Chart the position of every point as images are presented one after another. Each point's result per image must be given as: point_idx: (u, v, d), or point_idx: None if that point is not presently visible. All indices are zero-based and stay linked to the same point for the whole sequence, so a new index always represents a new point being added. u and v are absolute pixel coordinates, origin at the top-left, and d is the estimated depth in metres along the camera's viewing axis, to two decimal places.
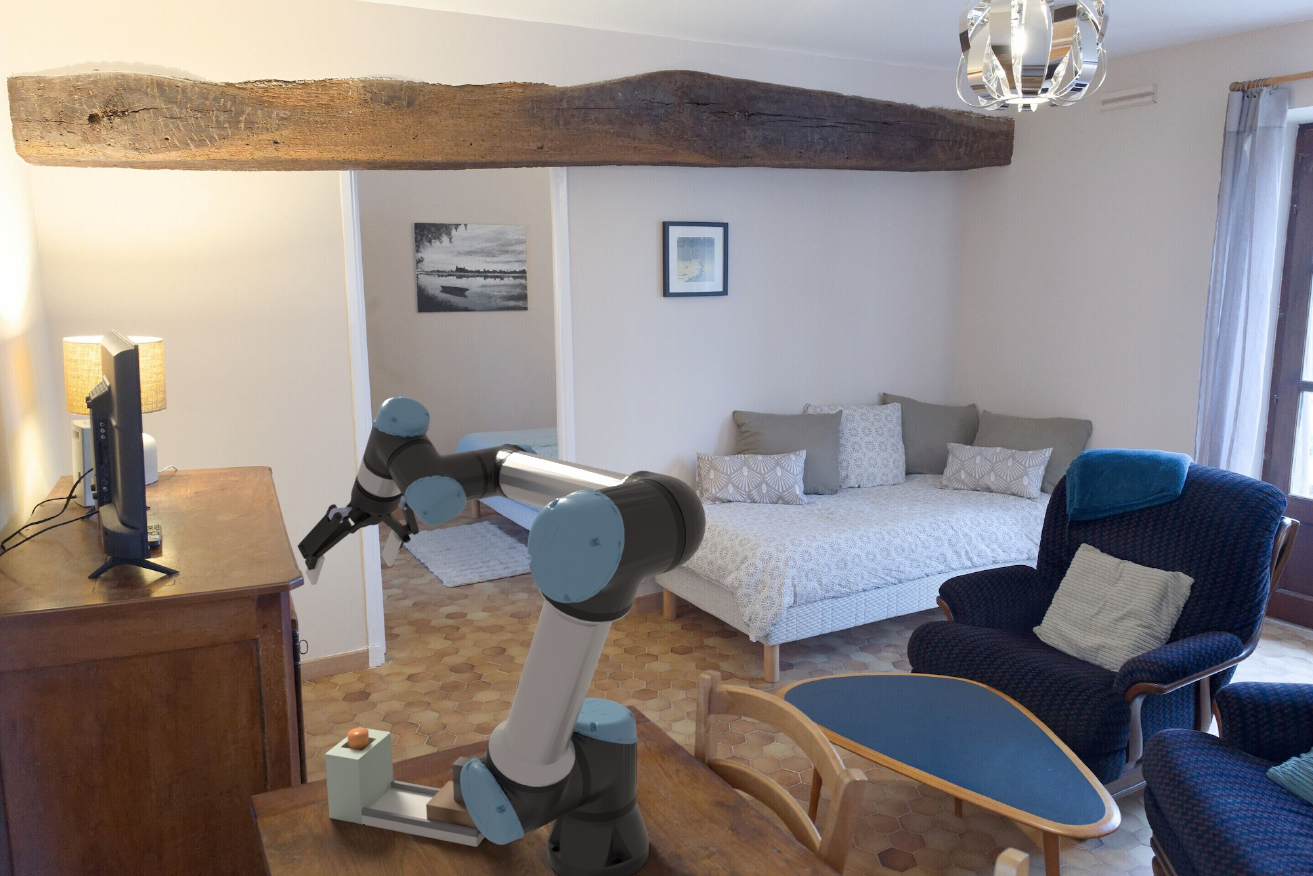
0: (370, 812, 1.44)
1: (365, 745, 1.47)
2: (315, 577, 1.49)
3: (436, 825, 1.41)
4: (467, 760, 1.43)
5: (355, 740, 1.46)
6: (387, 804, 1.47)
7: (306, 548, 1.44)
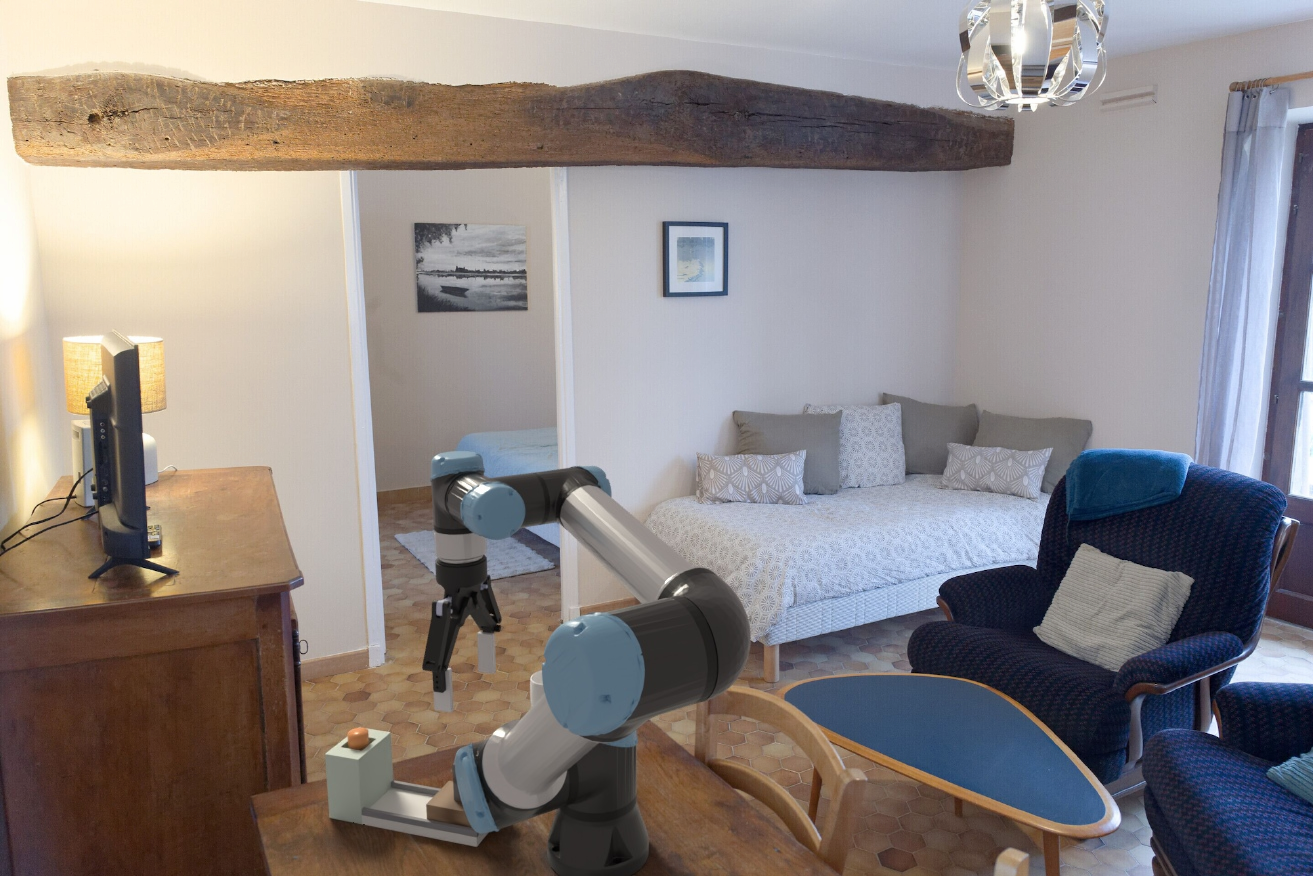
0: (370, 812, 1.44)
1: (365, 745, 1.47)
2: (451, 699, 1.33)
3: (436, 825, 1.41)
4: None
5: (355, 740, 1.46)
6: (387, 804, 1.47)
7: (434, 659, 1.29)
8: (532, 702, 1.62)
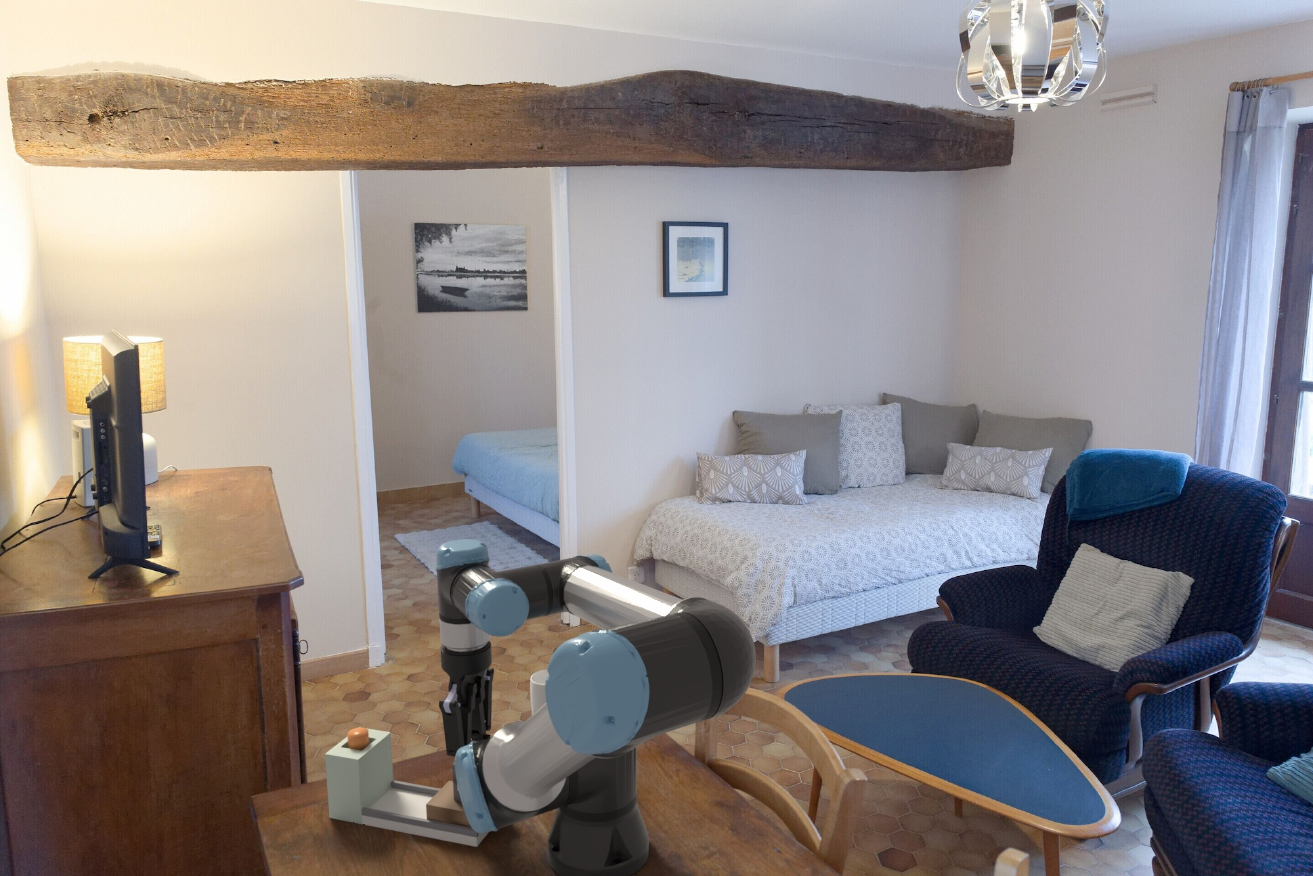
0: (370, 812, 1.44)
1: (365, 745, 1.47)
2: None
3: (436, 825, 1.41)
4: None
5: (355, 740, 1.46)
6: (387, 804, 1.47)
7: (456, 749, 1.36)
8: (532, 702, 1.62)
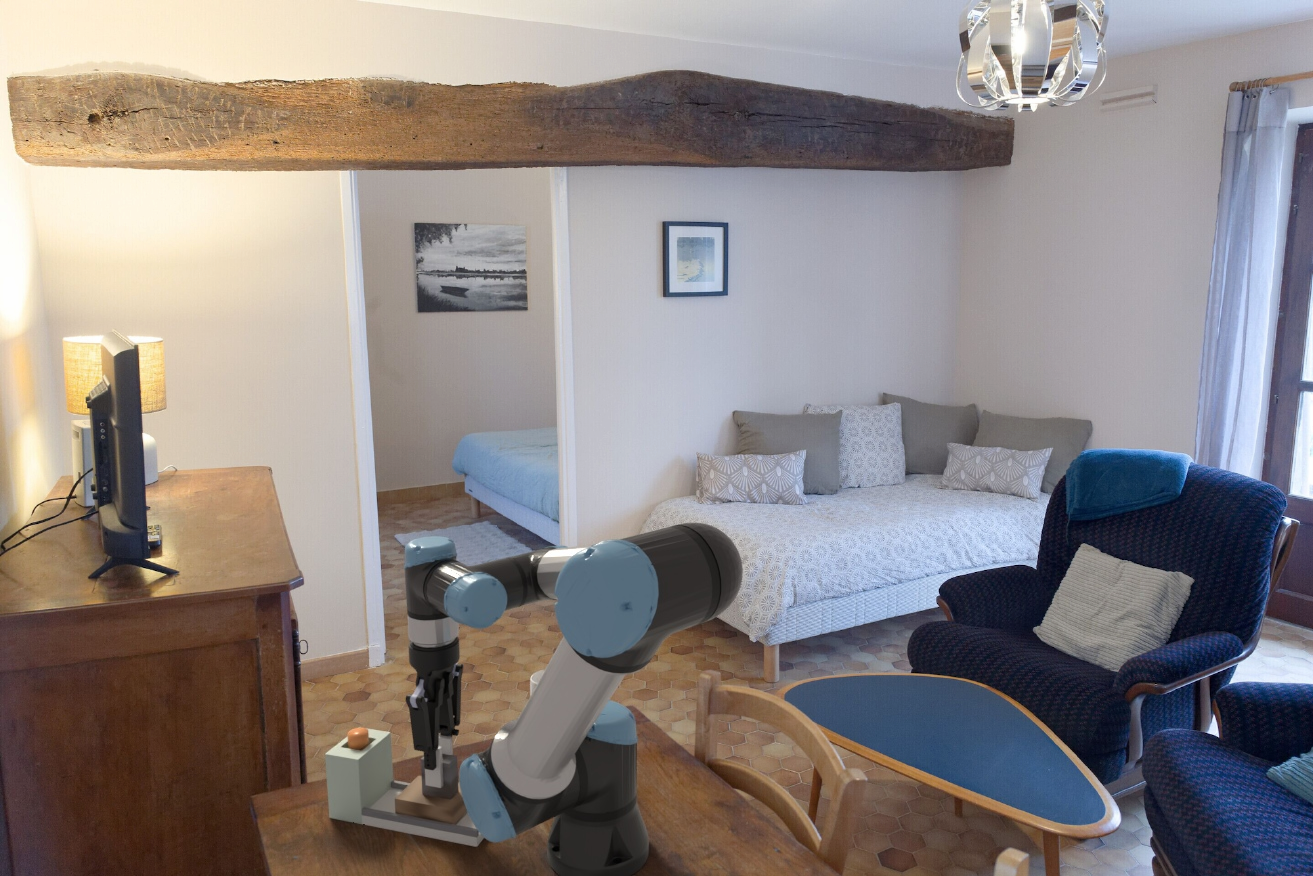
0: (370, 812, 1.44)
1: (365, 745, 1.47)
2: (441, 776, 1.42)
3: (436, 825, 1.41)
4: None
5: (355, 740, 1.46)
6: (387, 804, 1.47)
7: (423, 744, 1.38)
8: None
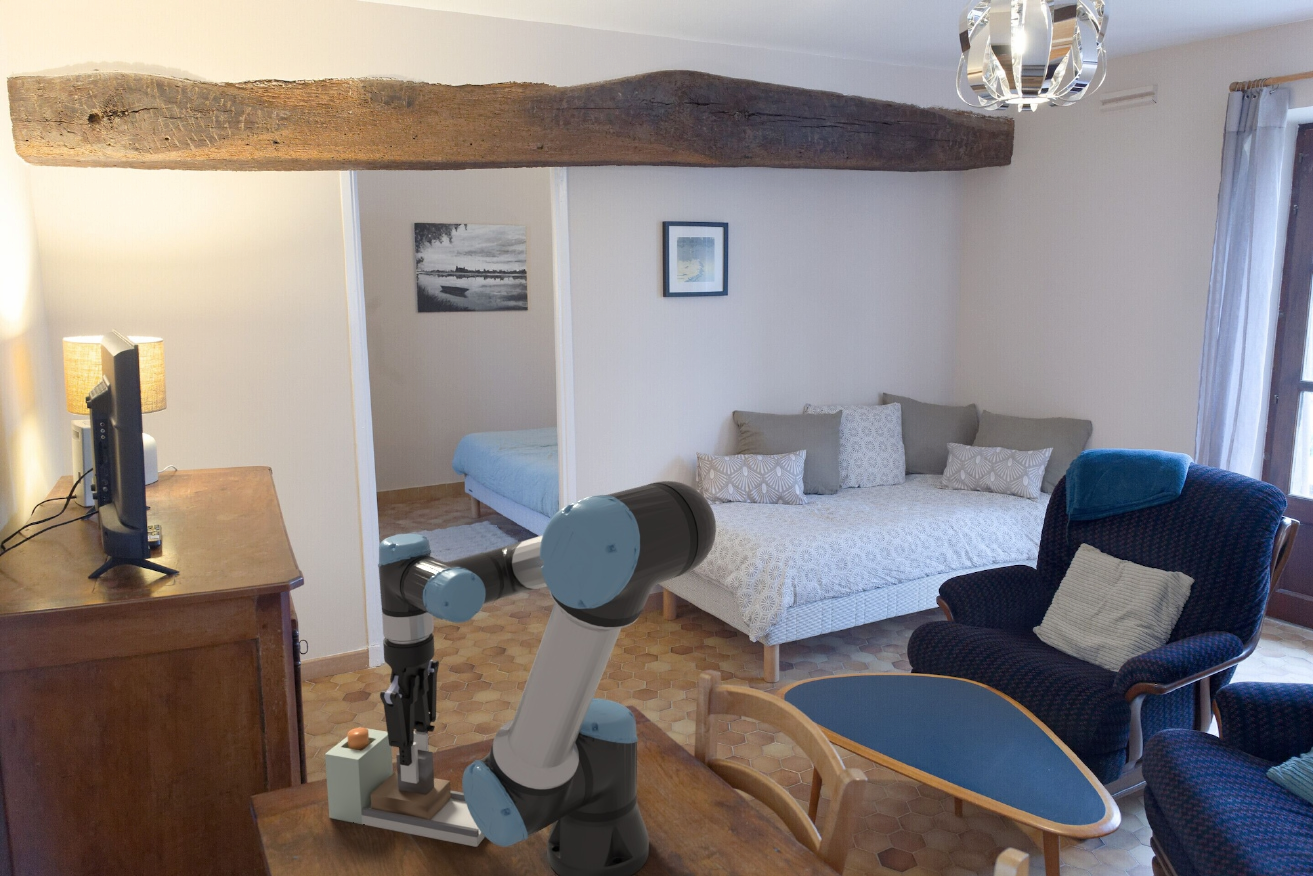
0: (370, 812, 1.44)
1: (365, 745, 1.47)
2: (416, 771, 1.43)
3: (436, 825, 1.41)
4: None
5: (355, 740, 1.46)
6: None
7: (398, 740, 1.39)
8: None
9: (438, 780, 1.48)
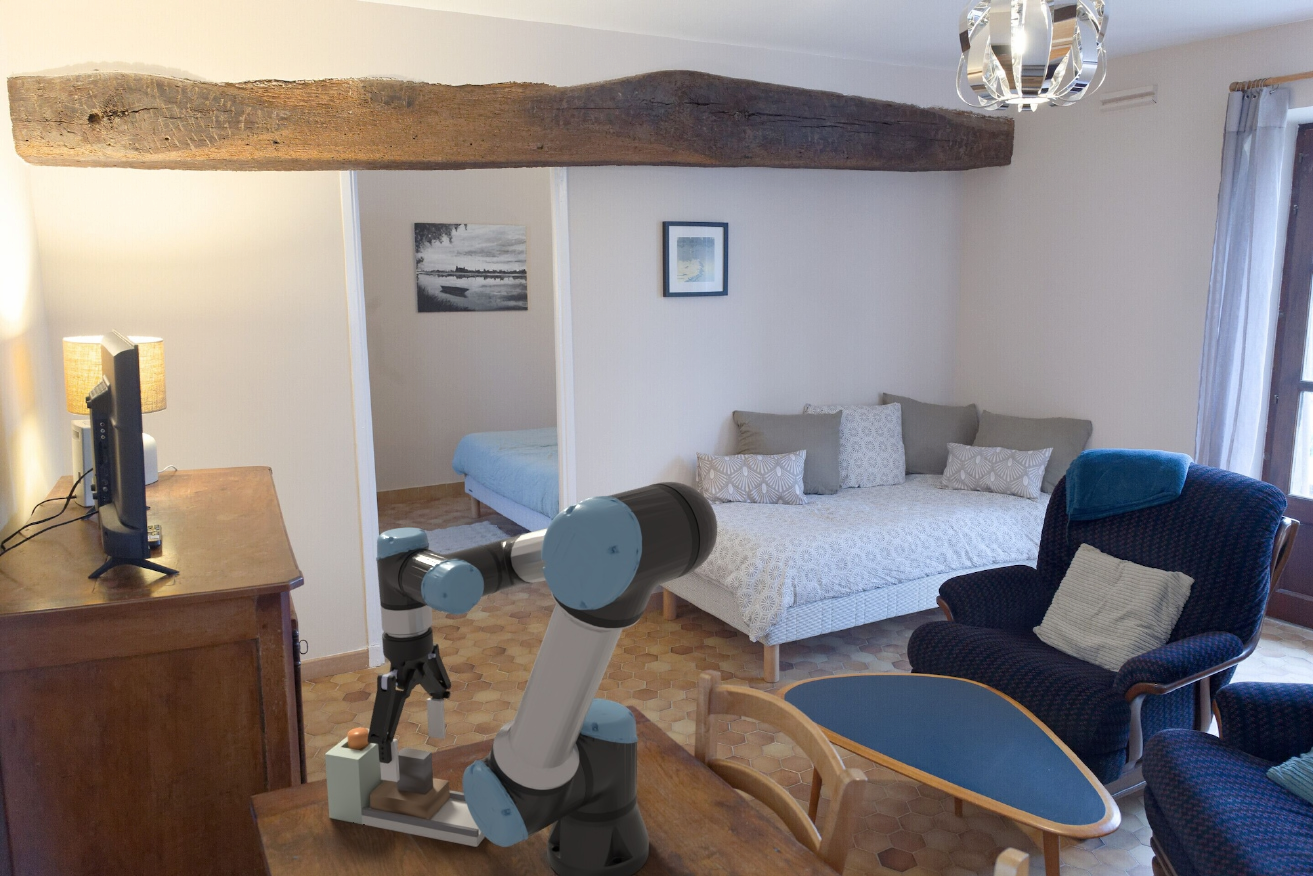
0: (370, 812, 1.44)
1: (365, 745, 1.47)
2: (396, 769, 1.38)
3: (436, 825, 1.41)
4: (410, 750, 1.46)
5: (355, 740, 1.46)
6: None
7: (379, 733, 1.34)
8: None
9: (437, 780, 1.48)
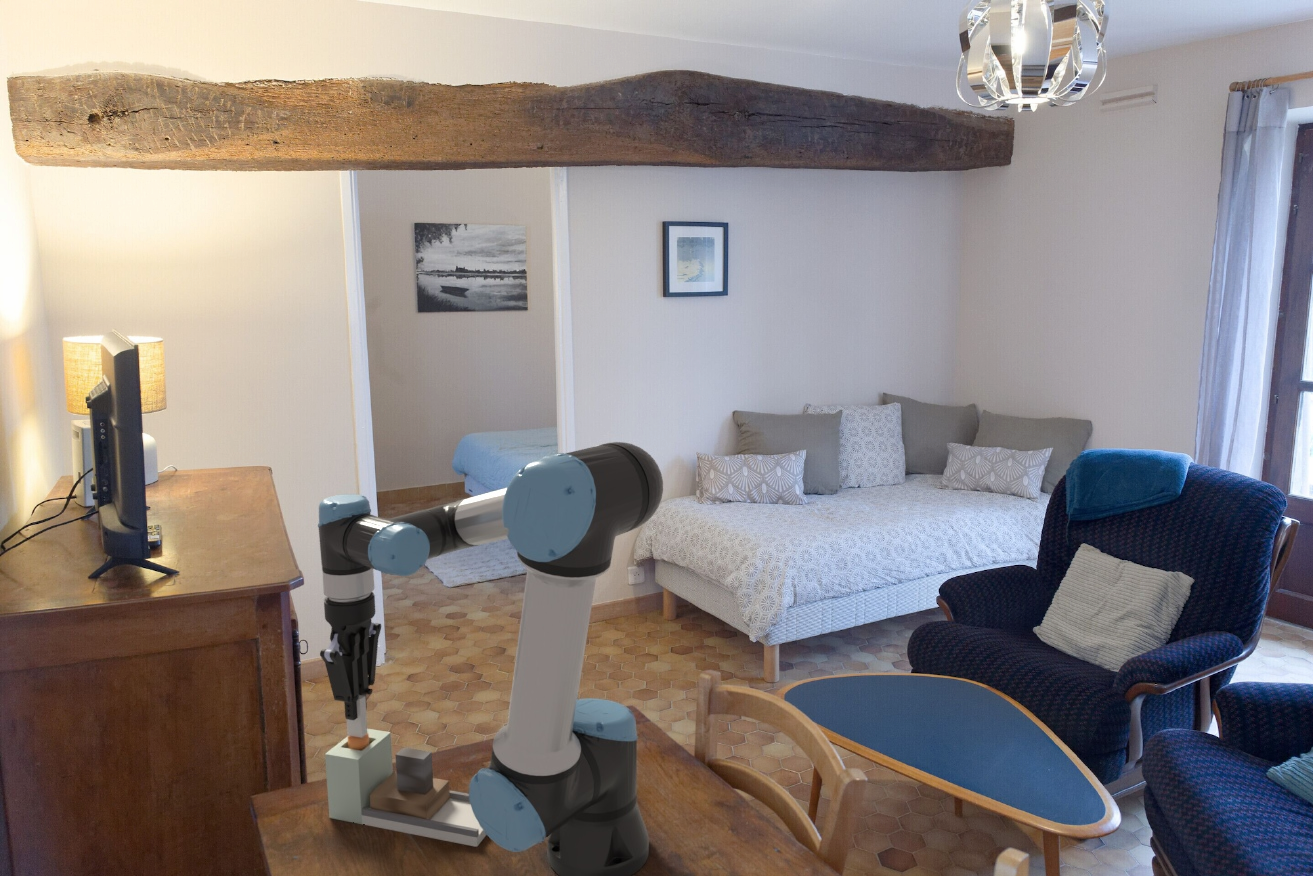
0: (370, 812, 1.44)
1: None
2: (362, 726, 1.46)
3: (436, 825, 1.41)
4: (410, 750, 1.46)
5: (355, 744, 1.46)
6: None
7: (342, 695, 1.42)
8: None
9: (437, 780, 1.48)
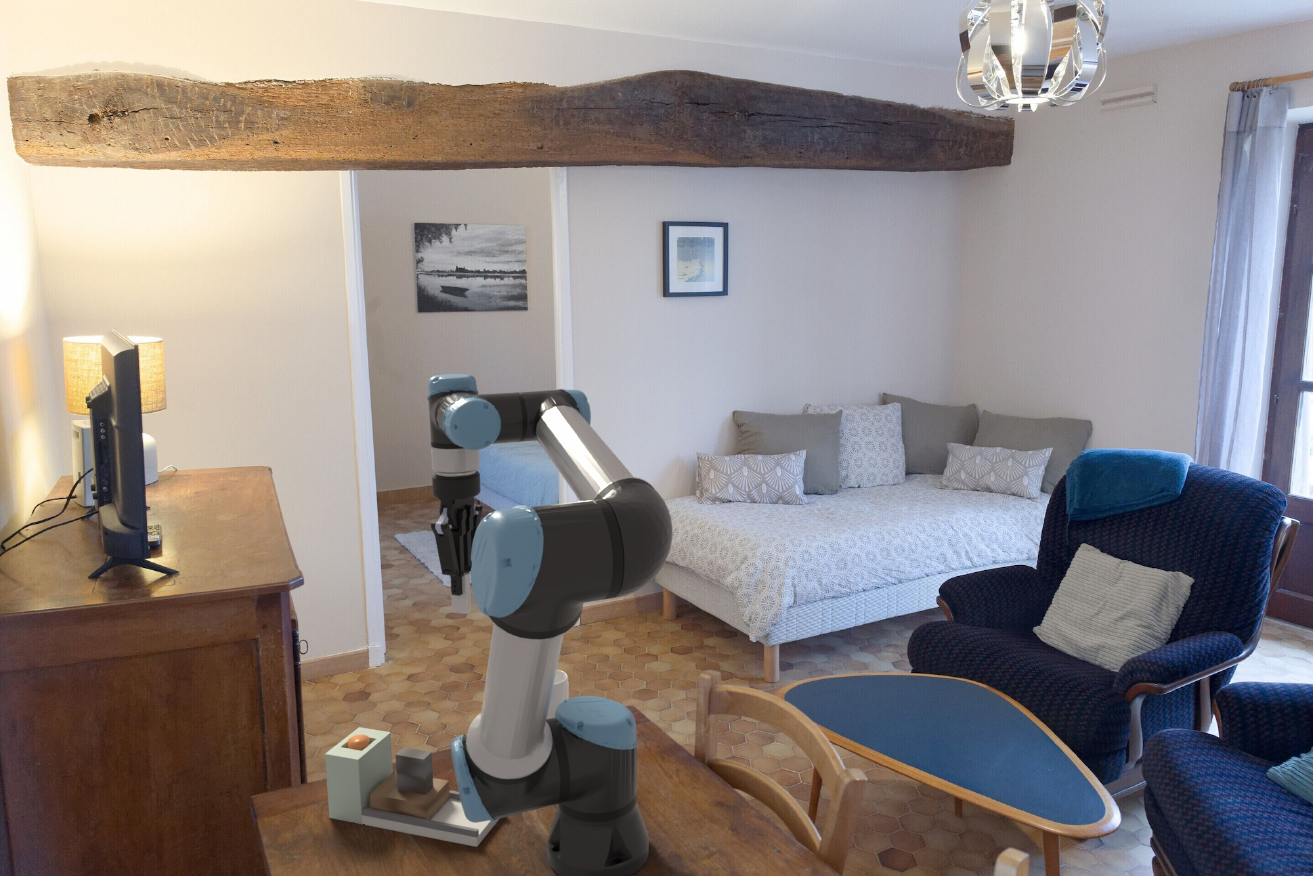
0: (370, 812, 1.44)
1: None
2: (466, 602, 1.50)
3: (436, 825, 1.41)
4: (410, 750, 1.46)
5: (355, 747, 1.46)
6: None
7: (450, 568, 1.46)
8: None
9: (437, 780, 1.48)
